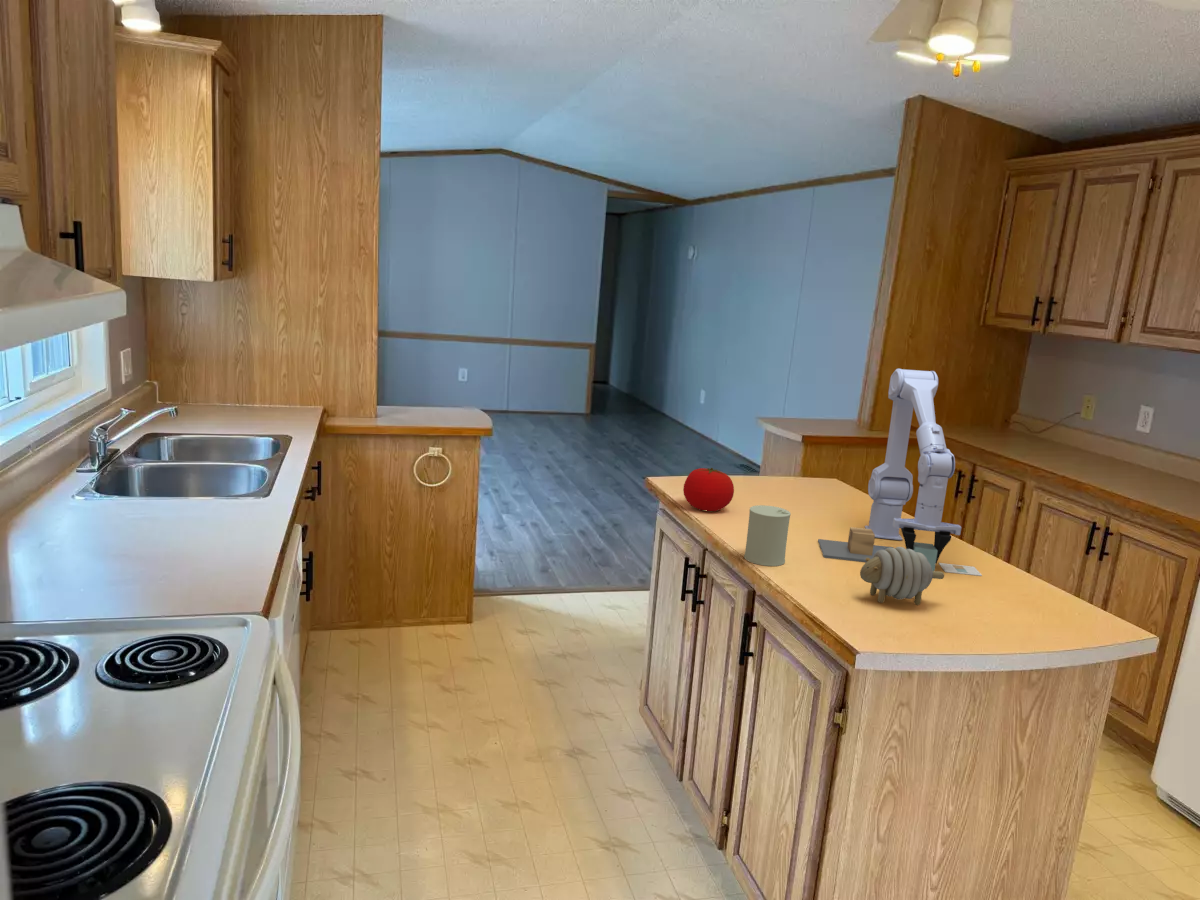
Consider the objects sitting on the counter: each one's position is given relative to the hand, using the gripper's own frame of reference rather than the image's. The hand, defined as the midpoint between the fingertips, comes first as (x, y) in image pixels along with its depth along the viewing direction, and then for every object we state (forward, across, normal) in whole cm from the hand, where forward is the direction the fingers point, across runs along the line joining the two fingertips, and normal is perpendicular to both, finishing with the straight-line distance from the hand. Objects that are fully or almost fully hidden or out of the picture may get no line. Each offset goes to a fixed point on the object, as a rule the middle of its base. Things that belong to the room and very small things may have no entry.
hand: (921, 560), depth 192 cm
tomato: (+2, -50, +31) cm, 59 cm away
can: (+2, -36, -8) cm, 37 cm away
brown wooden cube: (+1, -13, +5) cm, 14 cm away
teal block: (+1, 0, 0) cm, 1 cm away
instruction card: (+1, +9, +1) cm, 9 cm away
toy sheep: (+2, -10, -25) cm, 27 cm away
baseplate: (+1, -13, +5) cm, 14 cm away
